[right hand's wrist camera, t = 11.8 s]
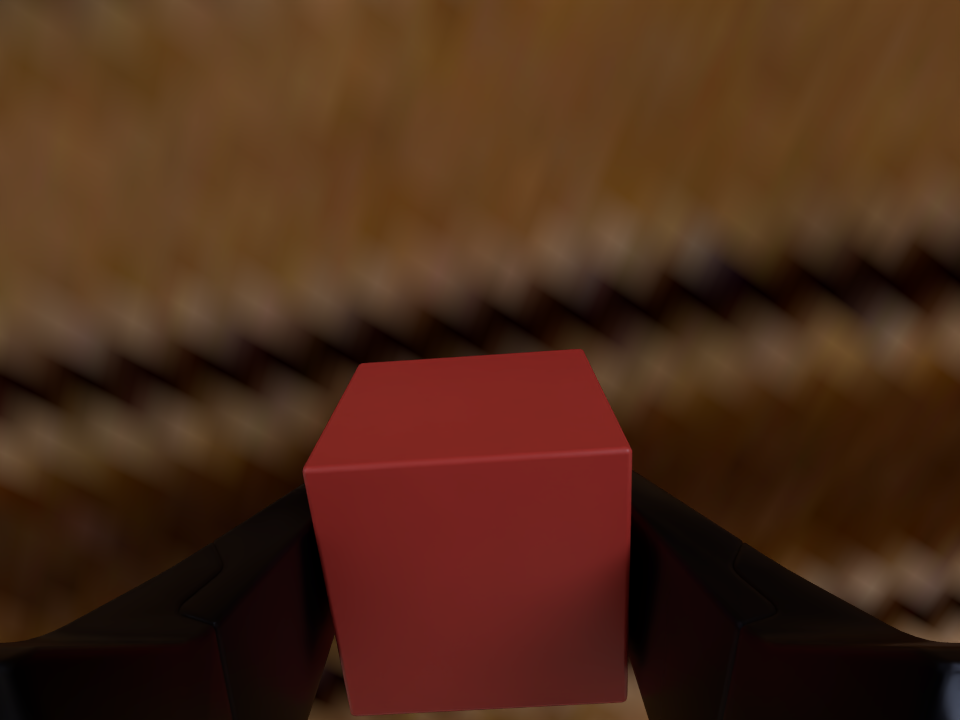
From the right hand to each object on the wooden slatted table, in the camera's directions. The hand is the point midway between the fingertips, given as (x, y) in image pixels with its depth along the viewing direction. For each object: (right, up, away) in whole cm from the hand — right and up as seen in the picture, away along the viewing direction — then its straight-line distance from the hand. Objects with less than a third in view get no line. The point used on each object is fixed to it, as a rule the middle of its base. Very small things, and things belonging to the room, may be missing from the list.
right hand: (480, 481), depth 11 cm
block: (0, 0, +1) cm, 1 cm away
